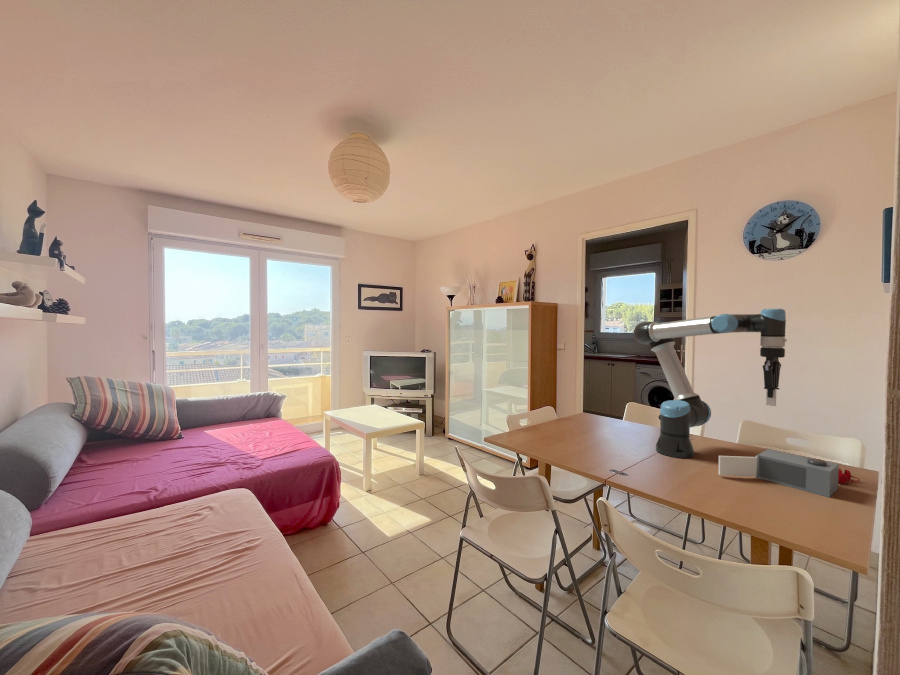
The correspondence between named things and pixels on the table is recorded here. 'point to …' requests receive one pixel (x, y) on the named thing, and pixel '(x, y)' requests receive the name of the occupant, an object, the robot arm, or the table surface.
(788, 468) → the case
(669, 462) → the table surface
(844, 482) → the alarm clock
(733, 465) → the door
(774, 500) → the table surface
